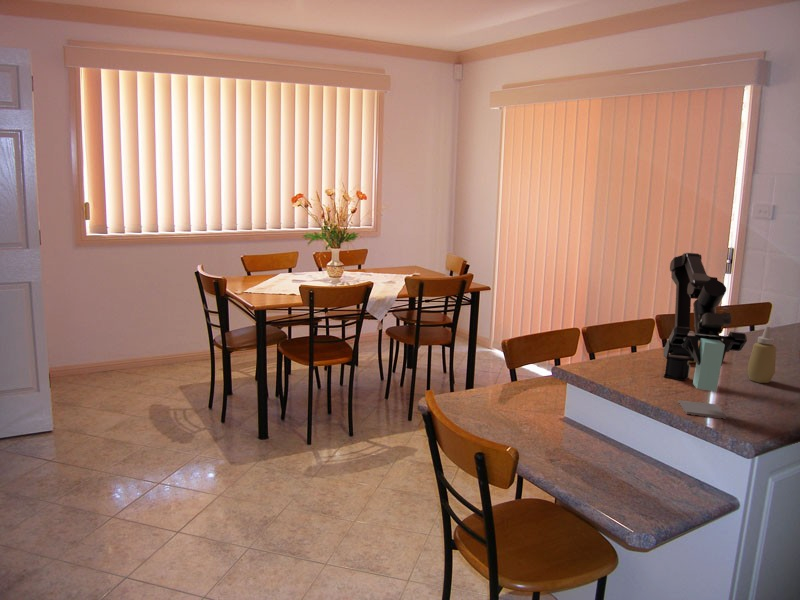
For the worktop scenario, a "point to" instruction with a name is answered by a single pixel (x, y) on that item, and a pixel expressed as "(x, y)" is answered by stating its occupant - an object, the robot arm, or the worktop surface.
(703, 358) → the teal block
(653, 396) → the worktop surface
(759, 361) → the squeeze bottle
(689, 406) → the rubber mat
